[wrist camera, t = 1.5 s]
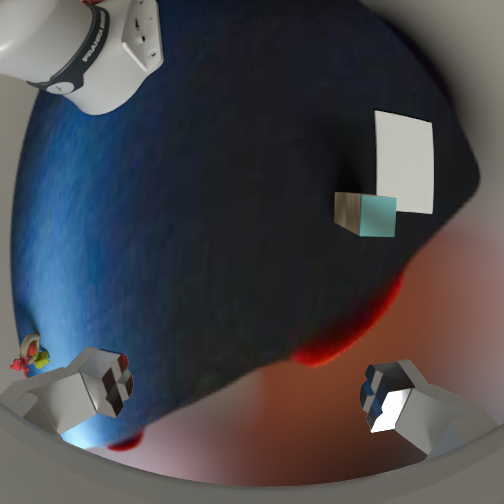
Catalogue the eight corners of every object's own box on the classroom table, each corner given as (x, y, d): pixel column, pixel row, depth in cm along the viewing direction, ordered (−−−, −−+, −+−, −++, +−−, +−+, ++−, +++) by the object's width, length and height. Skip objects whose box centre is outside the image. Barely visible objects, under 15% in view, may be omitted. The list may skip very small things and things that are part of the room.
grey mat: (374, 111, 31) (375, 110, 30) (430, 123, 30) (431, 123, 30) (375, 209, 34) (376, 209, 34) (430, 213, 34) (432, 213, 33)
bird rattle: (34, 325, 44) (31, 360, 43) (4, 329, 33) (3, 368, 32) (53, 336, 45) (49, 371, 43) (23, 342, 34) (21, 382, 32)
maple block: (335, 191, 34) (361, 195, 24) (362, 193, 34) (396, 198, 24) (334, 221, 35) (359, 235, 25) (361, 222, 35) (393, 236, 25)
